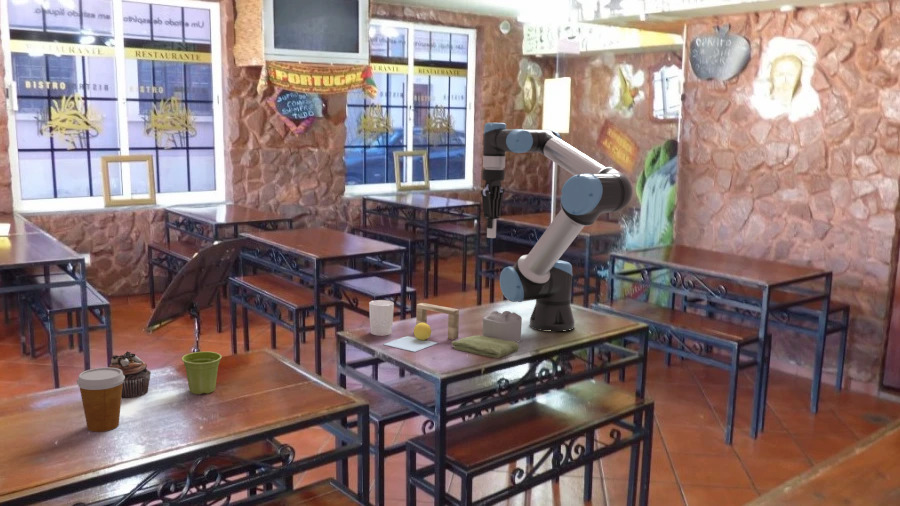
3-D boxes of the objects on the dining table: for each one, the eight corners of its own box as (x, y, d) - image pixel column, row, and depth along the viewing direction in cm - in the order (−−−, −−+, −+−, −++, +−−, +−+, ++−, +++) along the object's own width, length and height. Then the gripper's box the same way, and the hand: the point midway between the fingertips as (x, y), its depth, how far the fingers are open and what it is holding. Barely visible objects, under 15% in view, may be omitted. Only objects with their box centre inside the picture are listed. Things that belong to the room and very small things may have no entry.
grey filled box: (477, 339, 248) (478, 313, 246) (503, 332, 257) (504, 306, 256) (503, 346, 241) (504, 319, 239) (528, 339, 250) (530, 312, 249)
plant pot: (229, 387, 197) (229, 354, 196) (206, 399, 188) (206, 364, 187) (198, 382, 200) (197, 349, 199) (174, 393, 191) (173, 359, 190)
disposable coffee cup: (88, 418, 175) (86, 366, 173) (132, 418, 175) (130, 366, 173) (72, 435, 165) (69, 380, 163) (118, 434, 166) (116, 380, 164)
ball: (431, 320, 243) (421, 332, 240) (436, 333, 246) (427, 345, 243) (417, 317, 246) (408, 329, 243) (423, 330, 249) (413, 341, 246)
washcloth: (473, 340, 248) (473, 331, 247) (520, 351, 238) (521, 341, 237) (448, 349, 237) (449, 339, 237) (497, 361, 227) (498, 350, 227)
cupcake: (132, 402, 185) (130, 361, 183) (100, 396, 188) (98, 356, 187) (160, 389, 194) (158, 351, 192) (128, 384, 197) (127, 346, 196)
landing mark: (437, 343, 242) (437, 342, 242) (414, 352, 232) (414, 351, 232) (407, 336, 248) (407, 336, 248) (383, 344, 238) (383, 344, 238)
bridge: (421, 329, 257) (422, 302, 255) (458, 337, 249) (459, 309, 247) (416, 331, 254) (416, 304, 253) (452, 339, 246) (453, 311, 245)
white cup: (395, 330, 255) (395, 300, 253) (391, 337, 247) (391, 306, 246) (371, 329, 256) (371, 299, 254) (366, 335, 248) (366, 305, 246)
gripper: (493, 167, 272) (490, 234, 276) (474, 168, 261) (472, 238, 265) (512, 168, 268) (509, 236, 272) (494, 169, 257) (491, 240, 261)
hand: (491, 237), depth 268 cm, fingers closed
